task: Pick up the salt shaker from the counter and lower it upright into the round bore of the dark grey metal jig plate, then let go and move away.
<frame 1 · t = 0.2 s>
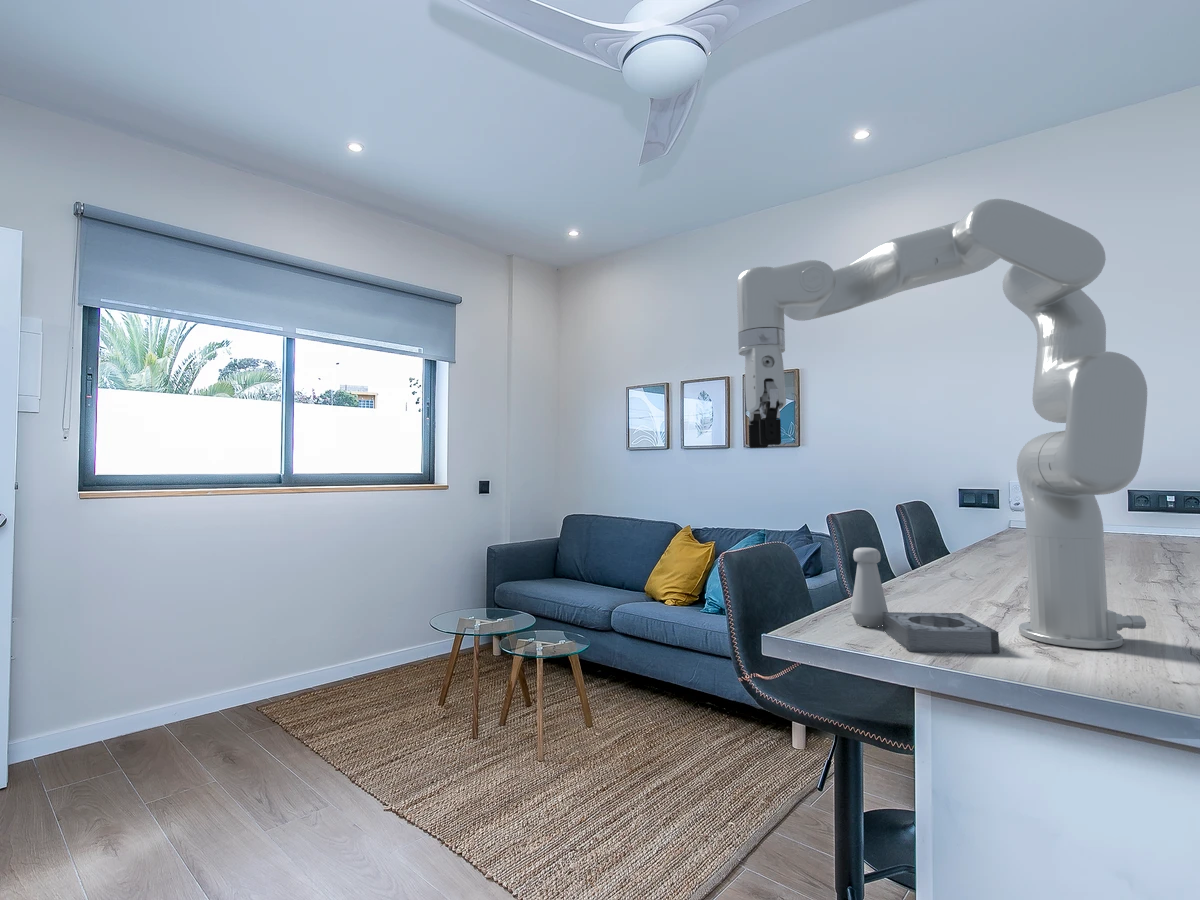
hand: (764, 446, 101), 31 cm above the table, tool pointing down, fingers open, 9 cm apart
salt shaker: (869, 625, 104), on the table
jig: (937, 641, 93), on the table
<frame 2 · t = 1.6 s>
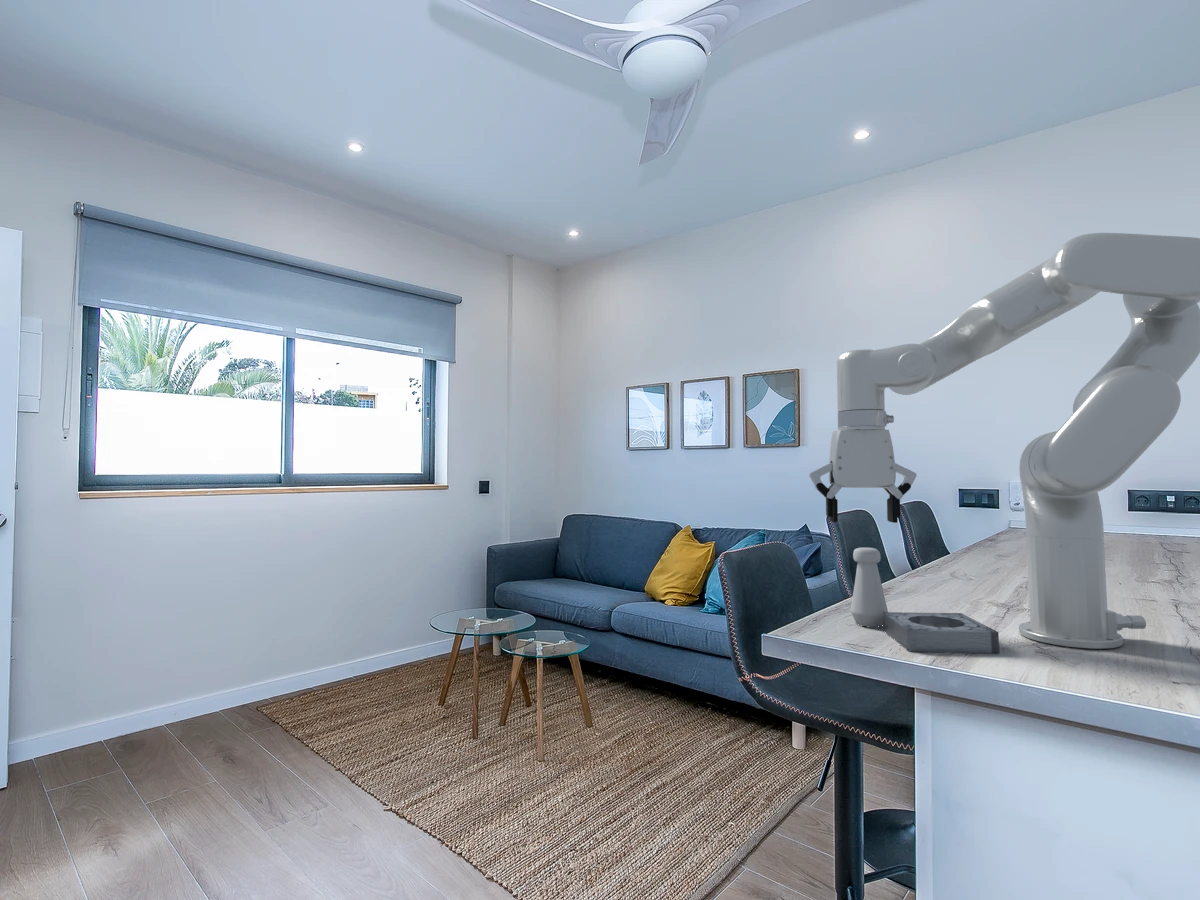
hand: (862, 521, 105), 17 cm above the table, tool pointing down, fingers open, 9 cm apart
nothing on the table moved.
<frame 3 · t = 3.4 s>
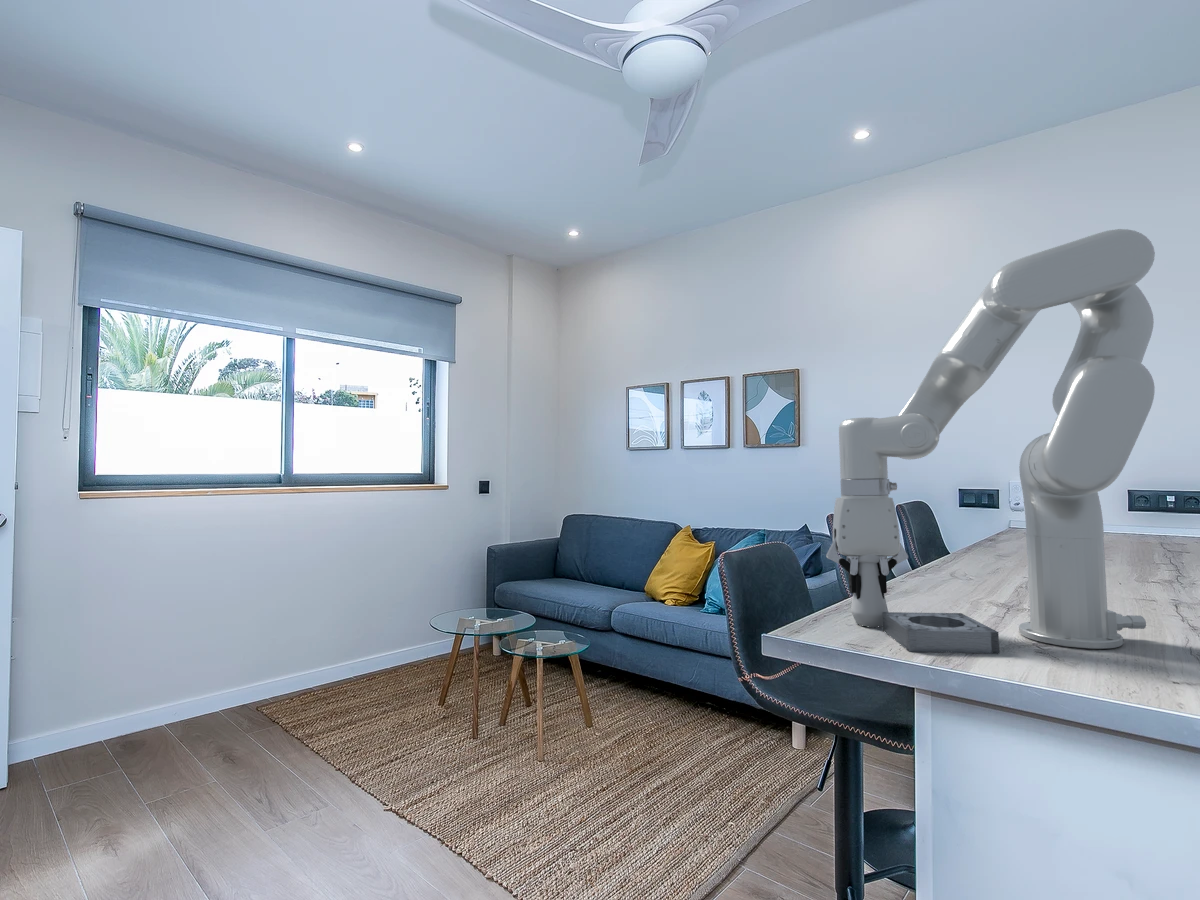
hand: (868, 596, 104), 5 cm above the table, tool pointing down, fingers closed on salt shaker, 3 cm apart
salt shaker: (869, 625, 104), on the table, touching gripper
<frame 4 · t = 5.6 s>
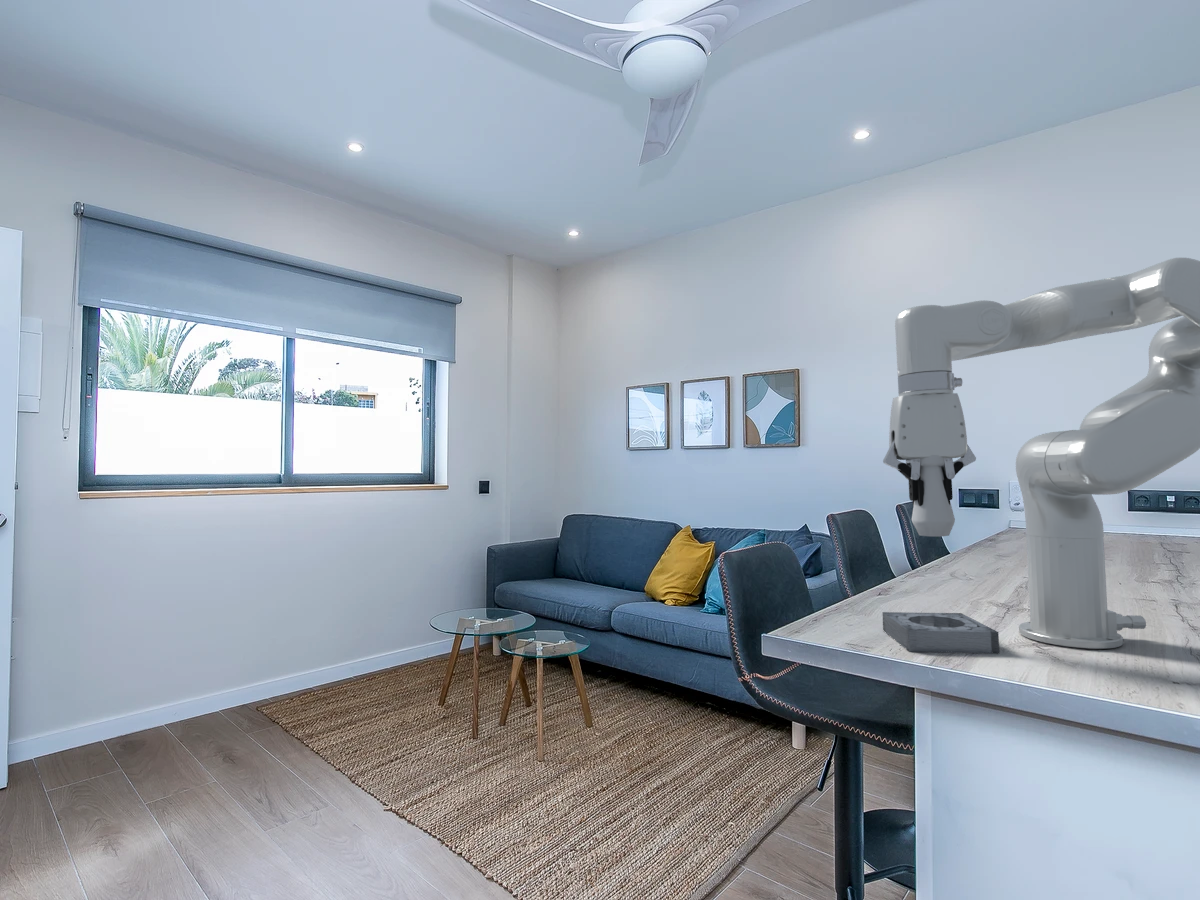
hand: (931, 504, 94), 21 cm above the table, tool pointing down, fingers closed on salt shaker, 3 cm apart
salt shaker: (933, 536, 94), point 16 cm above the table, touching gripper
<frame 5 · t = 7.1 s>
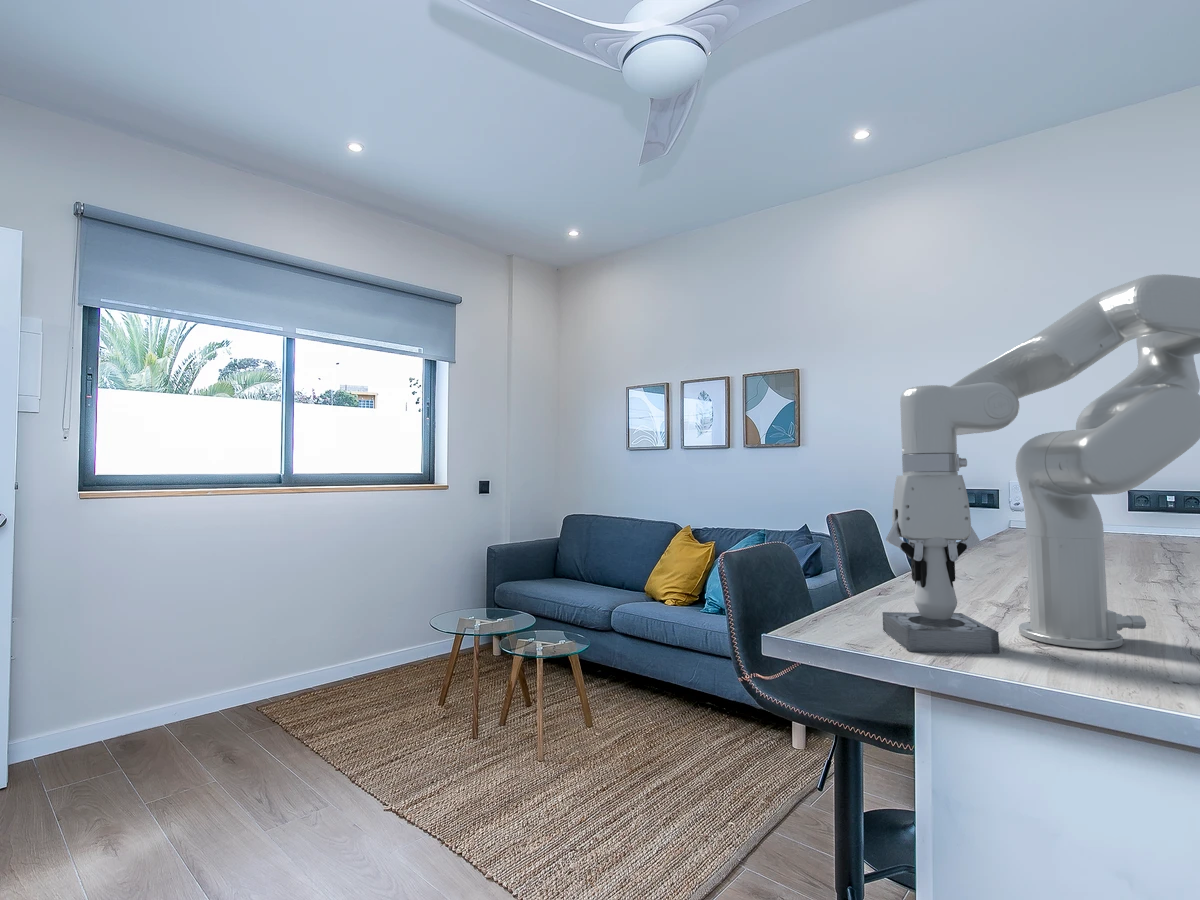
hand: (933, 585, 94), 8 cm above the table, tool pointing down, fingers closed on salt shaker, 3 cm apart
salt shaker: (935, 617, 93), point 4 cm above the table, touching gripper
when the fingers open (6 cm above the table, at t = 8.2 s): salt shaker drops 1 cm, resting in jig.
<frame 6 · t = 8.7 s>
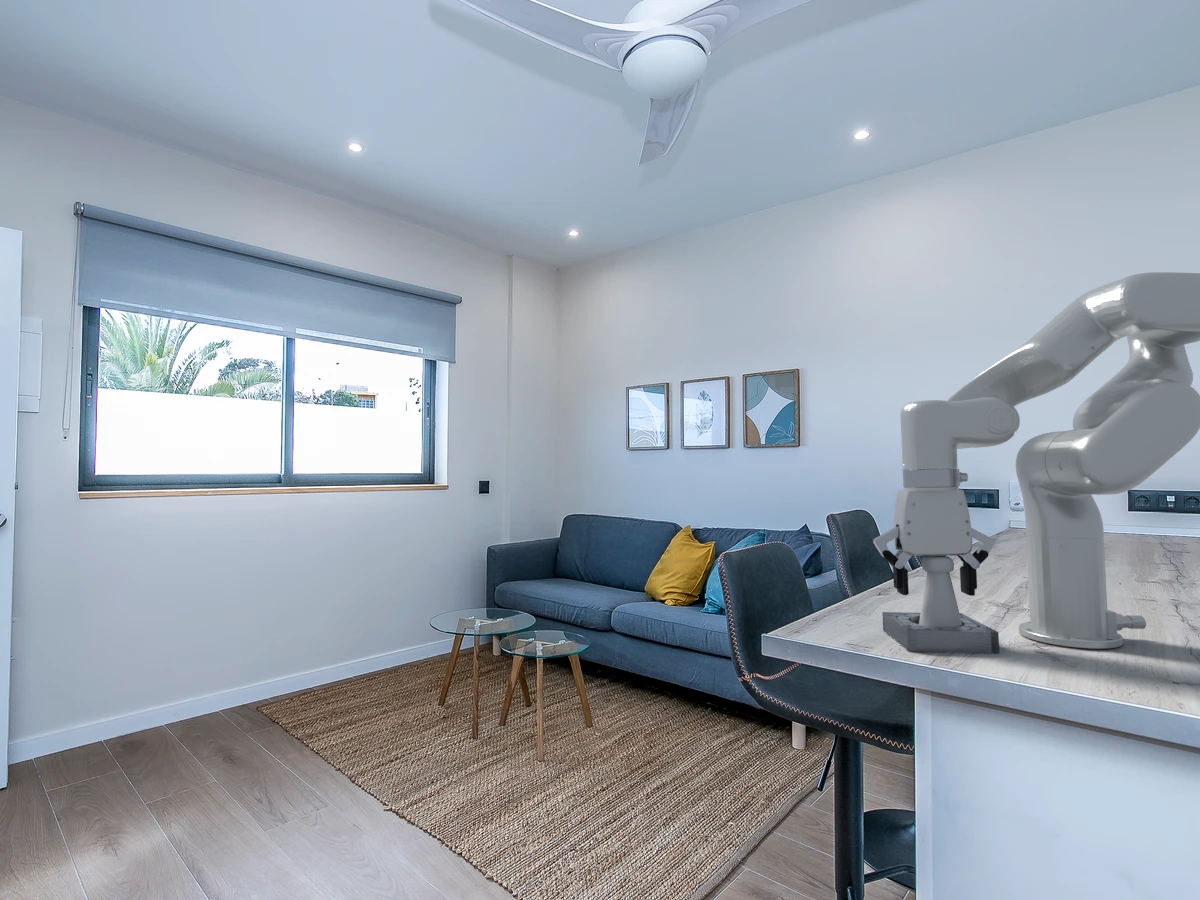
hand: (935, 593, 94), 7 cm above the table, tool pointing down, fingers open, 9 cm apart
salt shaker: (941, 642, 93), resting in jig
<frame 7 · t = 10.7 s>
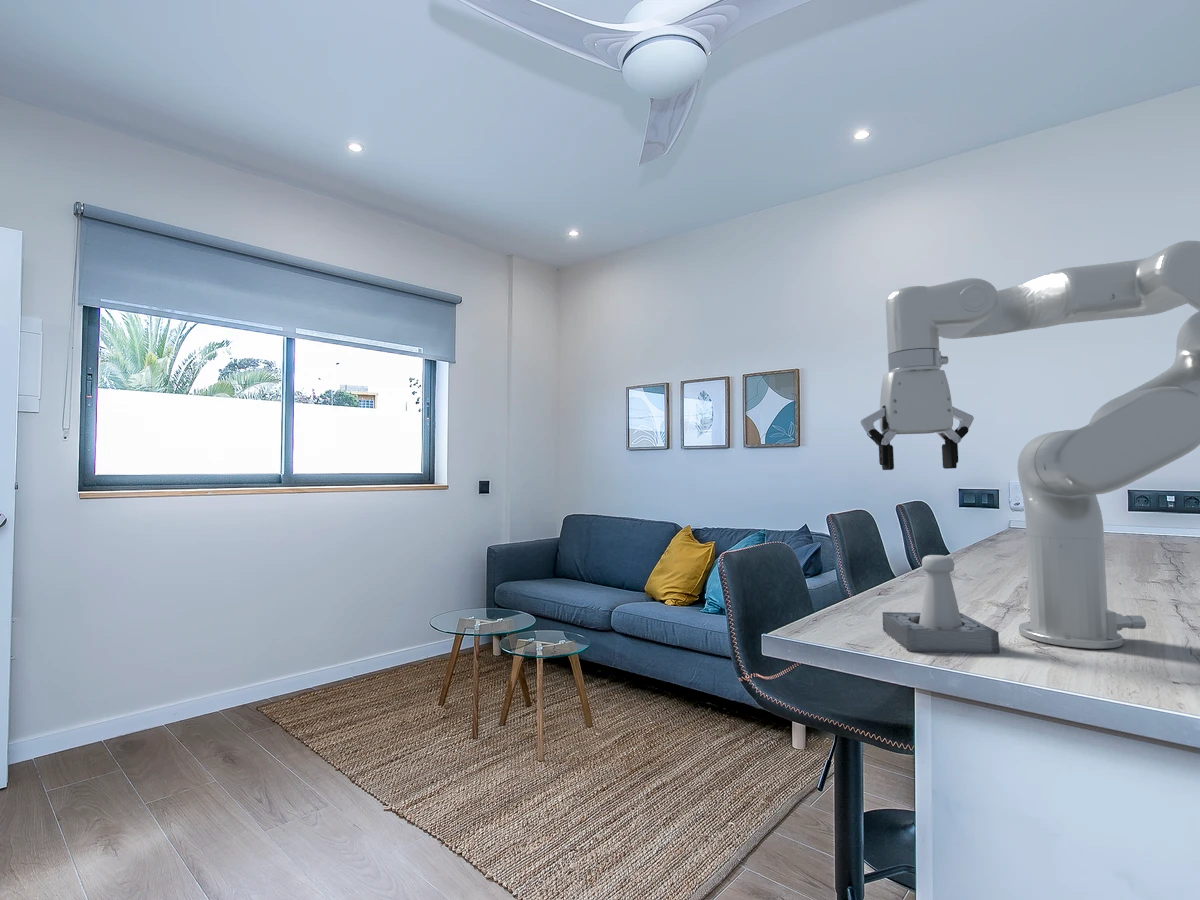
hand: (918, 469, 99), 26 cm above the table, tool pointing down, fingers open, 9 cm apart
nothing on the table moved.
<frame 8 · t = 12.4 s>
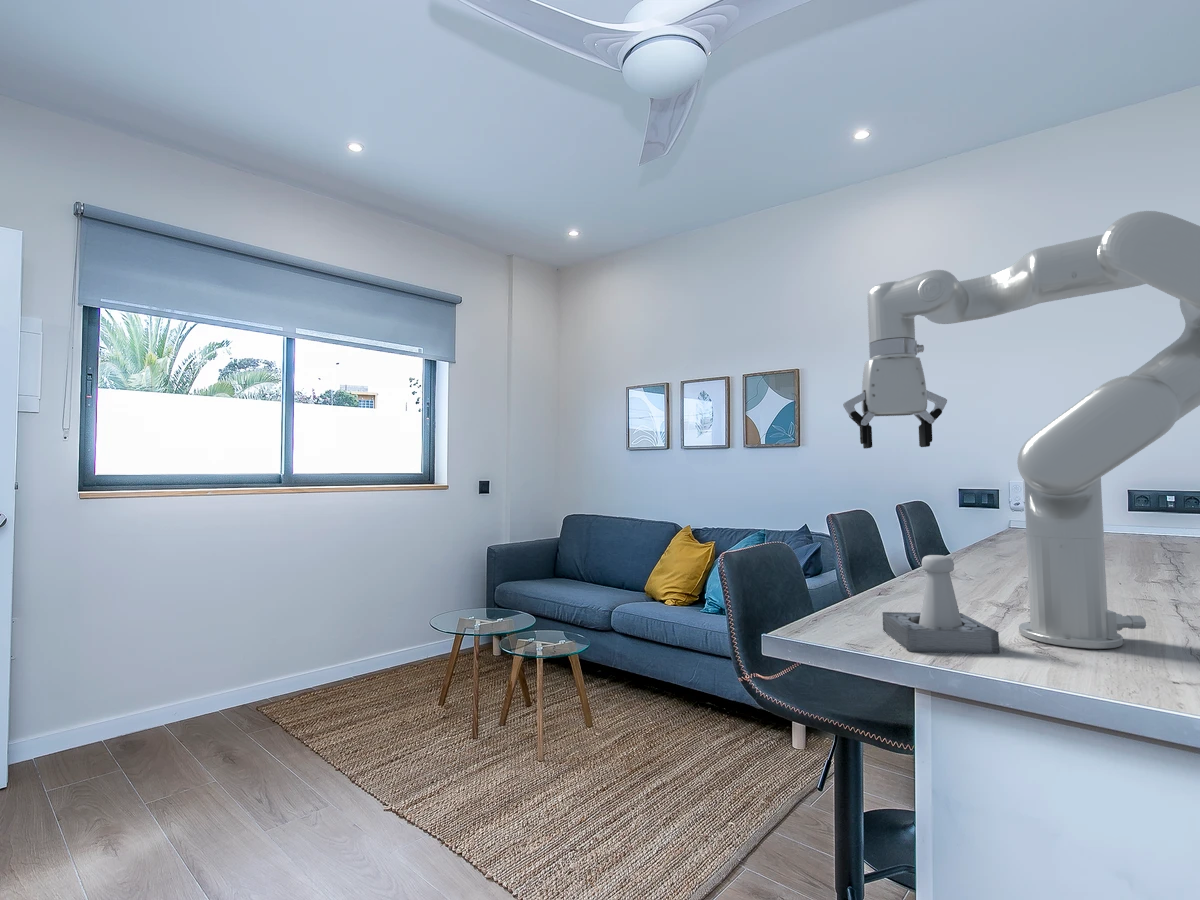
hand: (896, 447, 109), 30 cm above the table, tool pointing down, fingers open, 9 cm apart
nothing on the table moved.
at the end: salt shaker 0.6 cm off-centre on the jig, point 0.0 cm above the jig's base; salt shaker tilted 0°; the gripper is holding nothing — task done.
